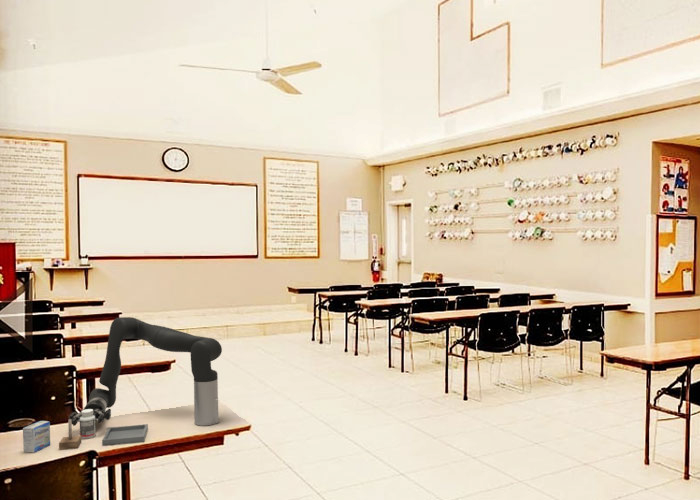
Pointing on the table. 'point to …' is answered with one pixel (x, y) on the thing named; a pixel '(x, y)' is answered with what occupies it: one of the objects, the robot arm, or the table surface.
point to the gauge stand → (70, 439)
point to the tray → (125, 435)
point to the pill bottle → (87, 424)
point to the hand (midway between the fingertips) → (86, 421)
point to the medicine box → (36, 436)
